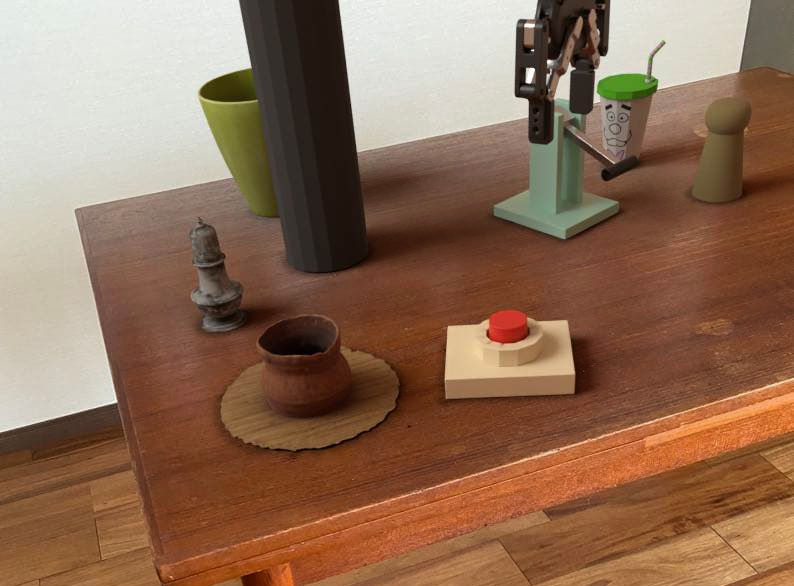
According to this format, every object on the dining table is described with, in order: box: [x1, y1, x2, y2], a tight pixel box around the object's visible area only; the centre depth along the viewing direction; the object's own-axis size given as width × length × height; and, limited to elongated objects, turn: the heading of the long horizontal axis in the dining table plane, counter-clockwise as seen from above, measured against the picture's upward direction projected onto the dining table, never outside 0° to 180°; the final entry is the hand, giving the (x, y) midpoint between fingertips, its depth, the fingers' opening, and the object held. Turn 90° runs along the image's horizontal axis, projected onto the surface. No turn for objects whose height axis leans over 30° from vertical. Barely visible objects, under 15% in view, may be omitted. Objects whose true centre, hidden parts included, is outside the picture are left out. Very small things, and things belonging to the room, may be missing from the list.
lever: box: [554, 105, 639, 182], centre depth 103 cm, size 12×5×2 cm, turn 41°
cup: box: [596, 39, 667, 161], centre depth 117 cm, size 8×8×15 cm
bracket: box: [493, 97, 620, 241], centre depth 108 cm, size 12×10×13 cm
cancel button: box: [488, 309, 528, 344], centre depth 84 cm, size 4×4×2 cm
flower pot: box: [197, 67, 279, 218], centre depth 118 cm, size 15×15×16 cm
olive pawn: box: [691, 96, 753, 203], centre depth 108 cm, size 6×6×11 cm
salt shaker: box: [188, 216, 248, 334], centre depth 96 cm, size 6×6×12 cm
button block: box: [444, 317, 576, 400], centre depth 86 cm, size 12×10×4 cm
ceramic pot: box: [219, 313, 401, 452], centre depth 84 cm, size 18×18×7 cm
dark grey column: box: [238, 0, 370, 274], centre depth 100 cm, size 10×10×30 cm
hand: (561, 127), depth 83 cm, fingers open, 8 cm apart
